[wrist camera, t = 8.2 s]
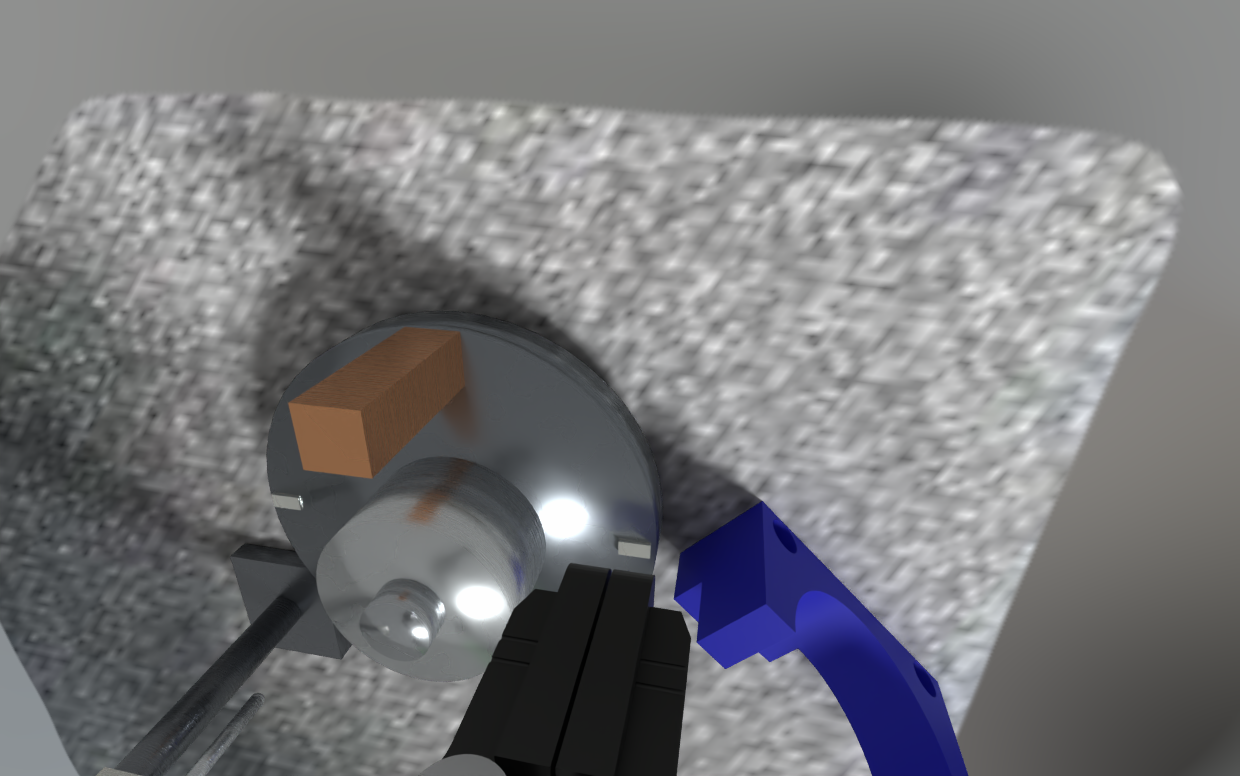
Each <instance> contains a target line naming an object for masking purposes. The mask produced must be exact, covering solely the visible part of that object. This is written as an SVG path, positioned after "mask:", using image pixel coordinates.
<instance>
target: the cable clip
mask: <svg viewBox="0 0 1240 776" xmlns="http://www.w3.org/2000/svg"><path fill="white" fill-rule="evenodd" d="M674 600H675V601H676V602H677V603H678V604H680V605H681V606H682V607H683V608H684V609H685V610H686V611H687V612H688V613H689V614H690V615H691V616H692V617H693V618H694V619H695V620H696V621H697V622H698V633H697V643H698V644H699V645H700V646H701V647H702V648H703V649H704V650H705V651H707V652H708V653H709V654H710V655H711V656H712V657H713V658H714V659H715V660H716V661H717V662H718V663H719V664H720V665H721V666H723V667H724V668H725V669H727V668H729V667H731V666H732V665H734V664H736V663H738V662H740V661H742V660H744V659H746V658H748V657H750V656H752V655H754V654H756V653H758V652H759V653H760V654H761V655H762V656H763V657H765V658H766V659H767V660H768V661H769V662H771V661H773V660H775V659H777V658H779V657H781V656H783V655H785V654H787V653H789V652H791V651H793V650H795V649H797V648H798V649H799V650H800V651H801V652H802V653H803V654H804V655H805V656H806V657H807V658H808V659H809V661H810V662H811V663H812V664H813V665H814V667H815V668H816V669H817V670H818V672H819V673H820V675H821V676H822V677H823V679H824V680H825V681H826V683H827V684H828V686H829V687H830V689H831V690H832V692H833V694H834V695H835V697H836V698H837V700H838V702H839V704H840V705H841V707H842V709H843V711H844V712H845V714H846V716H847V718H848V720H849V722H850V724H851V726H852V728H853V730H854V732H855V734H856V736H857V738H858V741H859V743H860V745H861V748H862V750H863V752H864V755H865V757H866V760H867V763H868V765H869V768H870V771H871V774H872V776H968V773H967V770H966V767H965V764H964V761H963V758H962V755H961V752H960V749H959V746H958V742H957V739H956V736H955V733H954V730H953V727H952V724H951V721H950V718H949V715H948V712H947V709H946V706H945V703H944V700H943V697H942V694H941V691H940V688H939V685H938V682H937V681H936V680H935V679H934V678H933V677H932V676H931V675H930V674H929V673H928V672H927V671H926V669H925V668H924V667H923V666H922V665H921V664H920V663H919V662H918V661H917V660H916V659H915V658H914V657H913V656H912V655H911V654H910V653H909V652H908V651H907V650H906V649H905V648H904V647H903V646H902V645H901V644H900V643H899V642H898V641H897V640H896V639H895V637H894V636H893V635H892V634H891V633H890V632H889V631H888V630H887V629H886V628H885V627H884V626H883V625H882V624H881V623H880V622H879V621H878V620H877V619H876V618H875V617H874V616H873V615H872V614H871V613H870V612H869V611H868V610H867V609H866V608H865V607H864V605H863V604H862V603H861V602H860V601H859V600H858V599H857V598H856V597H855V596H854V595H853V594H852V593H851V592H850V591H849V590H848V589H847V588H846V587H845V586H844V585H843V584H842V583H841V582H840V581H839V580H838V579H837V578H836V577H835V576H834V575H833V573H832V572H831V571H830V570H829V569H828V568H827V567H826V566H825V565H824V564H823V563H822V562H821V561H820V560H819V559H818V558H817V557H816V556H815V555H814V554H813V553H812V552H811V551H810V550H809V549H808V548H807V547H806V546H805V545H804V544H803V543H802V542H801V540H800V539H799V538H798V537H797V536H796V535H795V534H794V533H793V532H792V531H791V530H790V529H789V528H788V527H787V526H786V525H785V524H784V523H783V522H782V521H781V520H780V519H779V518H778V517H777V516H776V515H775V514H774V513H773V512H772V511H771V510H770V508H769V507H768V506H767V505H766V504H765V503H764V502H763V501H761V502H760V503H758V504H757V505H755V506H754V507H752V508H750V509H749V510H747V511H746V512H744V513H743V514H741V515H740V516H738V517H736V518H735V519H733V520H732V521H730V522H729V523H727V524H725V525H724V526H722V527H721V528H719V529H718V530H716V531H714V532H713V533H711V534H710V535H708V536H707V537H705V538H703V539H702V540H700V541H699V542H697V543H696V544H694V545H692V546H691V547H689V548H688V549H686V550H685V551H683V552H682V553H680V559H679V566H678V573H677V580H676V587H675V593H674Z"/></svg>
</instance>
